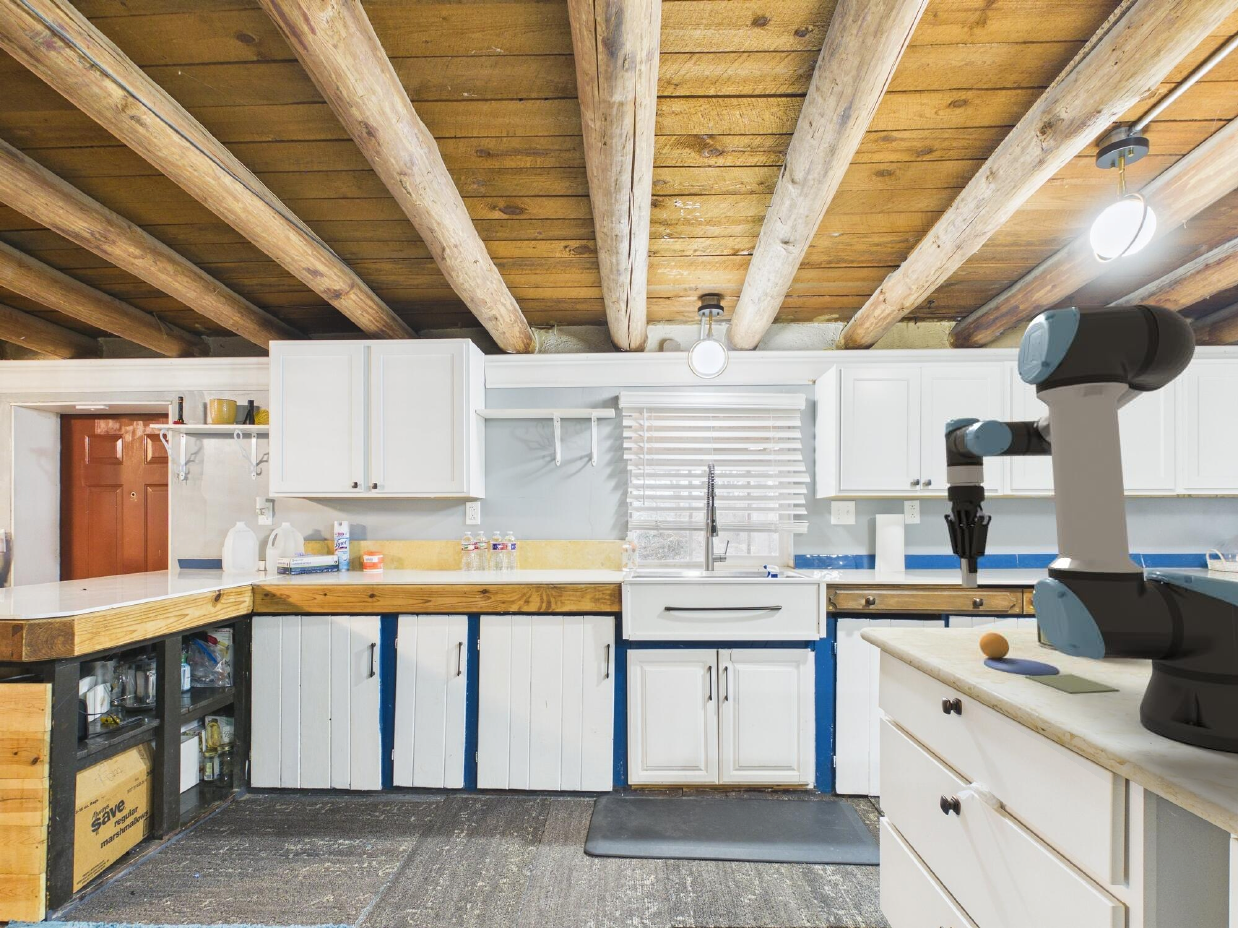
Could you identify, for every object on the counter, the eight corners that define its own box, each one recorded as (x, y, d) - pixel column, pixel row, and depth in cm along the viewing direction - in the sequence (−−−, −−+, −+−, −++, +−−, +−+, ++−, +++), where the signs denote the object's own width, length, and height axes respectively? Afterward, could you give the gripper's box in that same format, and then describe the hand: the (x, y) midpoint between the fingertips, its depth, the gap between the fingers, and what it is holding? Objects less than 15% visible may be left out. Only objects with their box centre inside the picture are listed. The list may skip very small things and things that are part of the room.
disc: (1072, 677, 118) (1072, 676, 118) (997, 673, 121) (997, 672, 121) (1041, 660, 131) (1041, 659, 131) (974, 657, 134) (974, 656, 134)
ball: (988, 640, 137) (1000, 663, 133) (969, 638, 135) (981, 662, 132) (1006, 628, 133) (1019, 652, 130) (987, 627, 132) (1000, 651, 128)
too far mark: (1119, 690, 110) (1119, 689, 110) (1070, 693, 108) (1070, 692, 108) (1071, 675, 120) (1071, 674, 120) (1025, 677, 118) (1025, 676, 118)
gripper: (1001, 484, 136) (1005, 590, 135) (961, 485, 149) (964, 583, 148) (970, 484, 135) (974, 591, 134) (932, 485, 148) (936, 583, 147)
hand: (969, 586), depth 141 cm, fingers closed
